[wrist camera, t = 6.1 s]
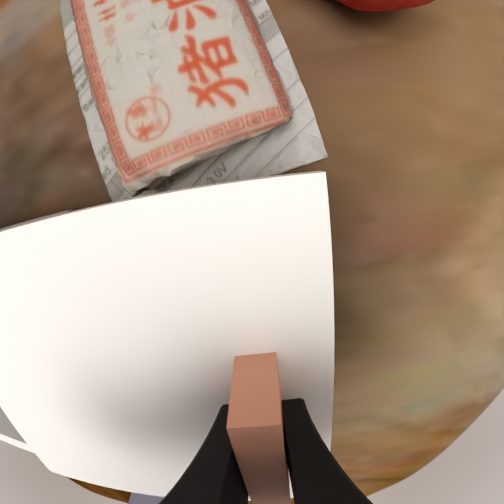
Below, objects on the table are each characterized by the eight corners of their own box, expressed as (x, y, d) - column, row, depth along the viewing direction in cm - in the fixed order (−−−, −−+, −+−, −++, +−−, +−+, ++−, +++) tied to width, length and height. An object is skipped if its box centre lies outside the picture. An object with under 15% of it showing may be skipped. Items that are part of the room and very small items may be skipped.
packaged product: (24, -53, 6) (199, -136, 4) (63, -25, 10) (210, -90, 9) (90, 256, 10) (355, 161, 9) (135, 226, 15) (324, 159, 14)
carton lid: (324, 484, 12) (332, 537, 9) (53, 465, 13) (35, 501, 10) (320, 170, 8) (364, 183, 4) (-60, 250, 9) (-107, 275, 5)
